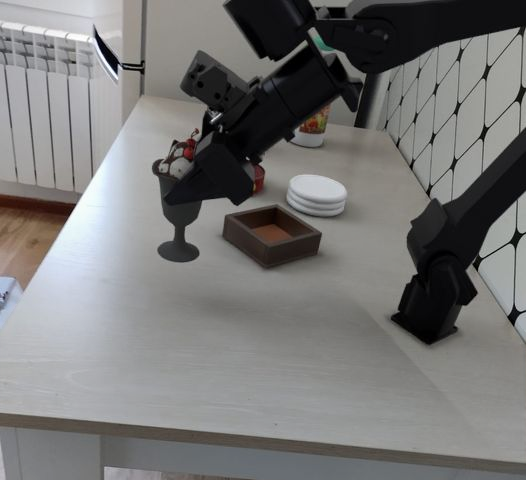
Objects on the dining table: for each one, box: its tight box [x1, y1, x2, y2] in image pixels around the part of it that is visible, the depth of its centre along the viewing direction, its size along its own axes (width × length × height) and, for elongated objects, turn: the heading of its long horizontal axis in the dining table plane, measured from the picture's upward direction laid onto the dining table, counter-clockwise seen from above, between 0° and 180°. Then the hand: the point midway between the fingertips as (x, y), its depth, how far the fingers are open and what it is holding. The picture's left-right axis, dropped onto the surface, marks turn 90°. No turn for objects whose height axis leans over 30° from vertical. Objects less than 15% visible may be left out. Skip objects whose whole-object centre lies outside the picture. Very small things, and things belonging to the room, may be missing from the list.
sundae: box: [151, 127, 203, 264], centre depth 64 cm, size 7×7×15 cm
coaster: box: [286, 174, 348, 218], centre depth 99 cm, size 10×10×4 cm
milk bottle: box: [289, 36, 336, 148], centre depth 120 cm, size 8×8×20 cm
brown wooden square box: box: [221, 203, 323, 270], centre depth 85 cm, size 10×10×4 cm
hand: (170, 189), depth 64 cm, fingers closed on sundae, 6 cm apart
